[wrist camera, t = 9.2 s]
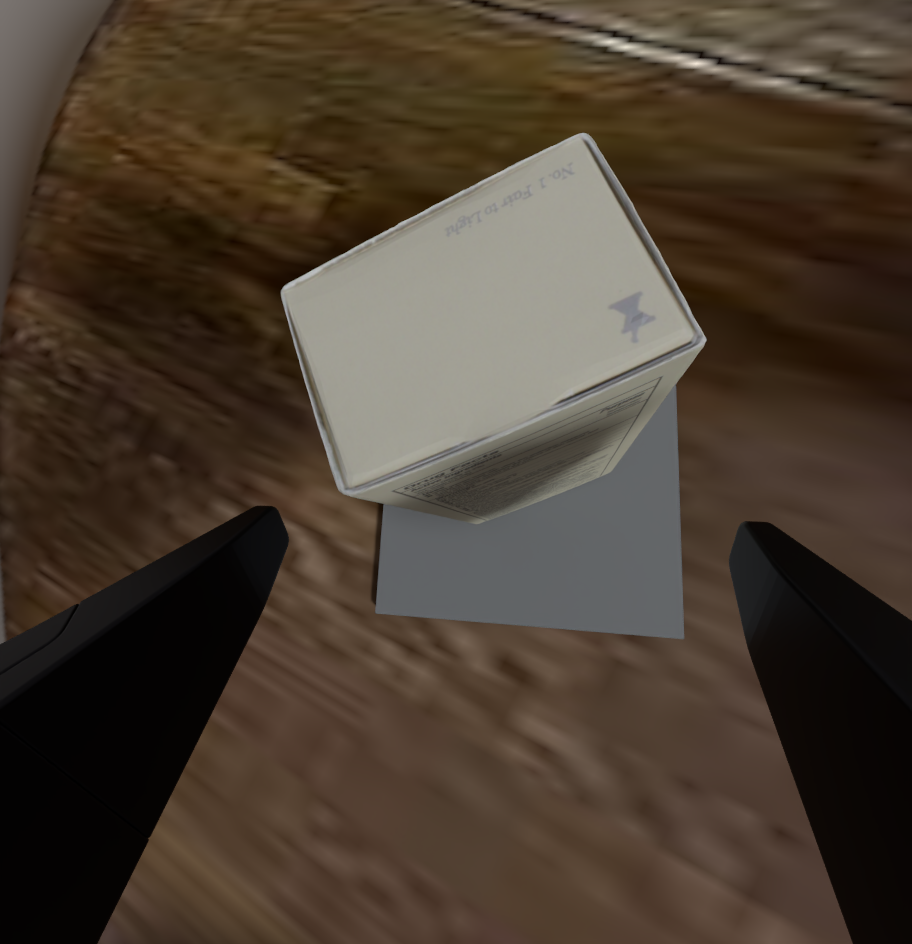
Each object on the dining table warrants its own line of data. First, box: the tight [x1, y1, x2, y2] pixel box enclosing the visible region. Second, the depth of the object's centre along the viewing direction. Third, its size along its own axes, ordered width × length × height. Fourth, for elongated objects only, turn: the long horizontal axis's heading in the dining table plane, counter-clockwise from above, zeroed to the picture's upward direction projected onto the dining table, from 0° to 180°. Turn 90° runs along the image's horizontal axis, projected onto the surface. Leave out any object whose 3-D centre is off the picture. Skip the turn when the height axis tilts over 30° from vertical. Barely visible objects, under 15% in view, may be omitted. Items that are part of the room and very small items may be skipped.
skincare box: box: [281, 133, 706, 524], centre depth 13 cm, size 6×4×12 cm
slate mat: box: [375, 384, 684, 639], centre depth 19 cm, size 14×12×1 cm
